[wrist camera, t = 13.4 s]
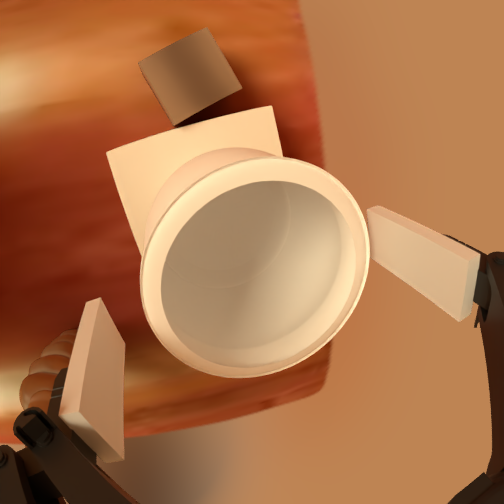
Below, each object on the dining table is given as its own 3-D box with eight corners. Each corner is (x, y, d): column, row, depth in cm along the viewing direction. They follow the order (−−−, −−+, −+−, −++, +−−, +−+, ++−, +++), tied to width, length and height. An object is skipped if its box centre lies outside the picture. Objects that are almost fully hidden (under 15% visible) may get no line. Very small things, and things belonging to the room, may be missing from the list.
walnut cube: (173, 125, 28) (175, 125, 23) (142, 74, 26) (137, 62, 20) (228, 95, 29) (242, 88, 23) (198, 44, 26) (206, 27, 21)
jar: (183, 121, 24) (206, 108, 10) (292, 173, 28) (406, 221, 14) (132, 240, 26) (109, 351, 13) (239, 278, 30) (301, 393, 17)
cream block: (159, 277, 33) (159, 300, 29) (114, 148, 28) (106, 152, 23) (283, 236, 35) (301, 253, 31) (255, 108, 30) (271, 105, 25)
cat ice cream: (126, 335, 35) (121, 468, 19) (94, 372, 36) (82, 495, 19) (64, 292, 31) (15, 416, 15) (36, 335, 32) (-7, 453, 16)
